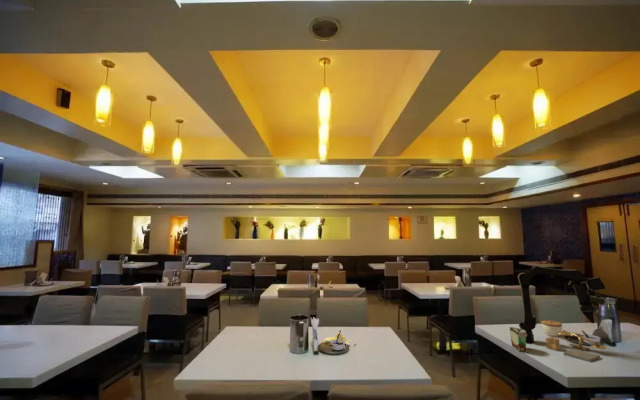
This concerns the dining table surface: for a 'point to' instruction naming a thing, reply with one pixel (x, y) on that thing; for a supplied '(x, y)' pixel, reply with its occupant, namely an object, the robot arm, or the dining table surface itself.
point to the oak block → (552, 343)
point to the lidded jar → (551, 328)
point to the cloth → (336, 338)
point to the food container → (518, 339)
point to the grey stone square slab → (582, 355)
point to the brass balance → (597, 344)
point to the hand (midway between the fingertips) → (592, 321)
